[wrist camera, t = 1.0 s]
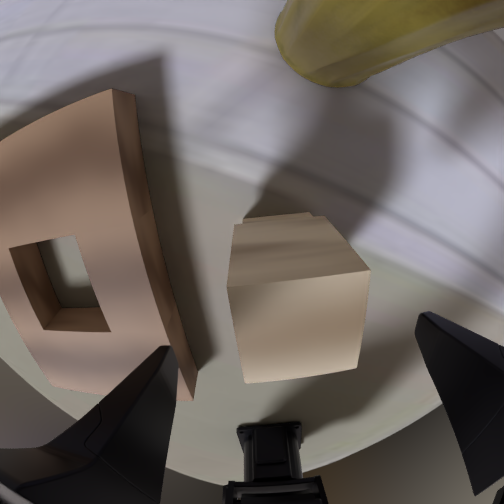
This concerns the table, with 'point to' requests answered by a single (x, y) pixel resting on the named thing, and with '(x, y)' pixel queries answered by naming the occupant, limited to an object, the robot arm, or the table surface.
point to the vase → (373, 33)
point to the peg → (295, 297)
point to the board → (87, 246)
